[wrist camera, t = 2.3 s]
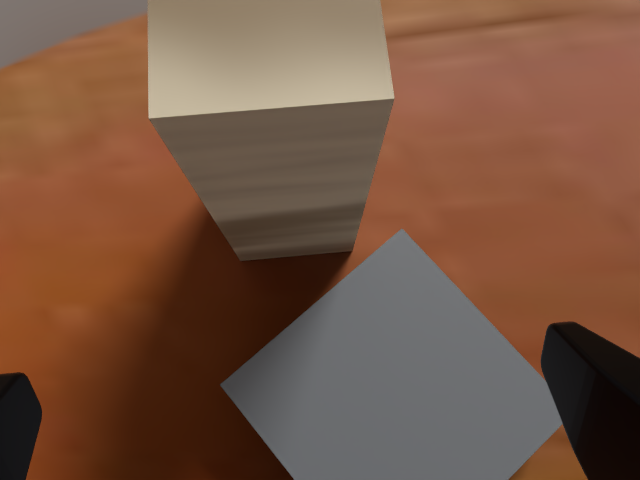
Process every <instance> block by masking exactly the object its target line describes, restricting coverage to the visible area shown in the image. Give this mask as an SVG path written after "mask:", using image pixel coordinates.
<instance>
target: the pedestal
mask: <svg viewBox="0 0 640 480" xmlns="http://www.w3.org/2000/svg"><path fill="white" fill-rule="evenodd" d="M220 386H221V387H222V388H223V389H224V391H225V392H226V393H227V395H228V396H229V397H230V398H231V400H232V401H233V402H234V403H235V405H236V406H237V407H238V409H239V410H240V411H241V412H242V414H243V415H244V416H245V417H246V419H247V420H248V421H249V423H250V424H251V425H252V426H253V428H254V429H255V430H256V431H257V433H258V434H259V435H260V437H261V438H262V439H263V440H264V442H265V443H266V444H267V445H268V447H269V448H270V449H271V451H272V452H273V453H274V454H275V456H276V457H277V458H278V460H279V461H280V462H281V463H282V465H283V466H284V467H285V468H286V470H287V471H288V472H289V474H290V475H291V476H292V477H293V479H294V480H508V479H509V478H510V477H511V476H512V475H513V474H514V473H515V472H516V471H517V470H518V469H519V468H520V467H521V466H522V465H523V464H524V463H525V462H526V461H527V460H528V459H529V458H530V457H531V456H532V455H533V453H534V452H535V451H536V450H537V449H538V448H539V447H540V446H541V445H542V444H543V443H544V442H545V441H546V440H547V439H548V438H549V437H550V436H551V435H552V434H553V433H554V432H555V431H556V430H557V429H558V428H559V427H560V426H561V425H562V424H563V423H562V421H561V418H560V416H559V413H558V410H557V408H556V405H555V403H554V400H553V398H552V395H551V393H550V390H549V387H548V385H547V382H546V381H545V380H544V379H543V378H542V377H541V376H540V375H539V374H538V373H537V372H536V370H535V369H534V368H533V367H532V366H531V365H530V364H529V363H528V362H527V361H526V360H525V359H524V358H523V357H522V356H521V355H520V353H519V352H518V351H517V350H516V349H515V348H514V347H513V346H512V345H511V344H510V343H509V342H508V341H507V340H506V339H505V338H504V336H503V335H502V334H501V333H500V332H499V331H498V330H497V329H496V328H495V327H494V326H493V325H492V324H491V323H490V322H489V321H488V319H487V318H486V317H485V316H484V315H483V314H482V313H481V312H480V311H479V310H478V309H477V308H476V307H475V306H474V305H473V303H472V302H471V301H470V300H469V299H468V298H467V297H466V296H465V295H464V294H463V293H462V292H461V291H460V290H459V289H458V288H457V286H456V285H455V284H454V283H453V282H452V281H451V280H450V279H449V278H448V277H447V276H446V275H445V274H444V273H443V272H442V271H441V269H440V268H439V267H438V266H437V265H436V264H435V263H434V262H433V261H432V260H431V259H430V258H429V257H428V256H427V255H426V254H425V252H424V251H423V250H422V249H421V248H420V247H419V246H418V245H417V244H416V243H415V242H414V241H413V240H412V239H411V238H410V237H409V235H408V234H407V233H406V232H405V231H404V230H403V229H401V230H400V231H398V232H397V233H396V234H395V235H394V236H393V237H391V238H390V239H389V240H388V241H387V242H386V243H384V244H383V245H382V246H381V247H380V248H379V249H377V250H376V251H375V252H374V253H373V254H372V255H370V256H369V257H368V258H367V259H366V260H365V261H363V262H362V263H361V264H360V265H359V266H358V267H356V268H355V269H354V270H353V271H352V272H351V273H349V274H348V275H347V276H346V277H345V278H344V279H342V280H341V281H340V282H339V283H338V284H337V285H336V286H334V287H333V288H332V289H331V290H330V291H329V292H327V293H326V294H325V295H324V296H323V297H322V298H320V299H319V300H318V301H317V302H316V303H315V304H313V305H312V306H311V307H310V308H309V309H308V310H306V311H305V312H304V313H303V314H302V315H301V316H299V317H298V318H297V319H296V320H295V321H294V322H292V323H291V324H290V325H289V326H288V327H287V328H285V329H284V330H283V331H282V332H281V333H280V334H278V335H277V336H276V337H275V338H274V339H273V340H271V341H270V342H269V343H268V344H267V345H266V346H264V347H263V348H262V349H261V350H260V351H259V352H257V353H256V354H255V355H254V356H253V357H252V358H251V359H249V360H248V361H247V362H246V363H245V364H244V365H242V366H241V367H240V368H239V369H238V370H237V371H235V372H234V373H233V374H232V375H231V376H230V377H228V378H227V379H226V380H225V381H224V382H223V383H221V384H220Z"/></svg>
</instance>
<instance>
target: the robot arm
mask: <svg viewBox="0 0 640 480" xmlns="http://www.w3.org/2000/svg"><path fill="white" fill-rule="evenodd" d="M541 368H542V372H543V375H544V377H545V380H546V382H547V385H548V387H549V390H550V393H551V395H552V398H553V400H554V403H555V405H556V408H557V410H558V413H559V416H560V418H561V421H562V423H563V426H564V428H565V431H566V434H567V436H568V439H569V441H570V443H571V446H572V448H573V450H574V453H575V455H576V457H577V459H578V461H579V463H580V465H581V467H582V469H583V471H584V473H585V475H586V476H587V478H588V480H640V358H638V357H637V356H635V355H633V354H631V353H630V352H628V351H626V350H624V349H622V348H621V347H619V346H617V345H615V344H613V343H612V342H610V341H608V340H606V339H605V338H603V337H601V336H599V335H597V334H596V333H594V332H592V331H590V330H588V329H587V328H585V327H583V326H581V325H580V324H578V323H575V322H559V323H552V324H550V325H549V326H548V328H547V331H546V336H545V340H544V345H543V350H542V355H541ZM41 419H42V409H41V405H40V403H39V401H38V398H37V396H36V394H35V392H34V390H33V388H32V385H31V383H30V381H29V379H28V377H27V376H26V375H25V374H24V373H20V372H17V373H6V374H0V480H26V476H27V472H28V469H29V465H30V461H31V457H32V454H33V450H34V446H35V442H36V438H37V435H38V431H39V427H40V423H41Z"/></svg>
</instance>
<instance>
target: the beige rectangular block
mask: <svg viewBox="0 0 640 480" xmlns="http://www.w3.org/2000/svg"><path fill="white" fill-rule="evenodd" d="M148 98H149V120H150V121H151V123H152V124H153V126H154V127H155V129H156V131H157V132H158V134H159V135H160V137H161V138H162V140H163V141H164V143H165V145H166V146H167V148H168V149H169V151H170V152H171V154H172V155H173V157H174V159H175V160H176V162H177V163H178V165H179V166H180V168H181V169H182V171H183V173H184V174H185V176H186V177H187V179H188V180H189V182H190V183H191V185H192V187H193V188H194V190H195V191H196V193H197V194H198V196H199V197H200V199H201V201H202V202H203V204H204V205H205V207H206V208H207V210H208V211H209V213H210V215H211V216H212V218H213V219H214V221H215V222H216V224H217V225H218V227H219V229H220V230H221V232H222V233H223V235H224V236H225V238H226V239H227V241H228V243H229V244H230V246H231V247H232V249H233V250H234V252H235V253H236V255H237V257H238V258H239V260H240V261H246V260H257V259H268V258H279V257H291V256H302V255H313V254H324V253H335V252H347V251H353V247H354V244H355V240H356V236H357V233H358V229H359V225H360V222H361V218H362V215H363V211H364V207H365V204H366V200H367V196H368V193H369V189H370V185H371V182H372V178H373V175H374V171H375V167H376V164H377V160H378V156H379V153H380V149H381V145H382V142H383V138H384V135H385V131H386V127H387V124H388V120H389V116H390V113H391V109H392V105H393V102H394V92H393V85H392V79H391V72H390V65H389V58H388V51H387V44H386V37H385V31H384V24H383V17H382V10H381V3H380V0H148Z"/></svg>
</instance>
